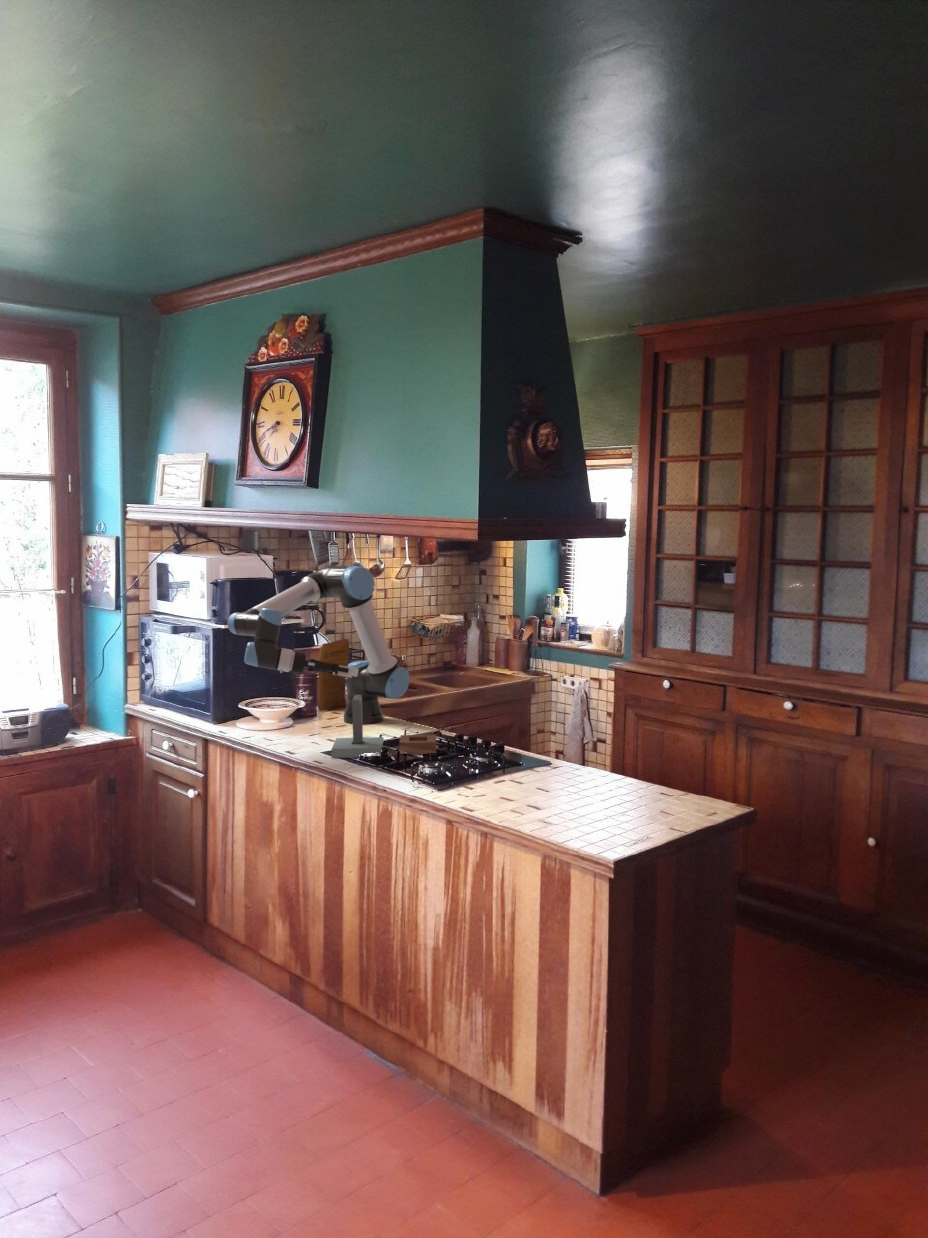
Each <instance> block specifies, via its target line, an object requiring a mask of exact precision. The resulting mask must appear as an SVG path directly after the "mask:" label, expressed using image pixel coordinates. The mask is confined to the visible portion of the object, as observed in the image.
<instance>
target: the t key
mask: <svg viewBox="0 0 928 1238" xmlns="http://www.w3.org/2000/svg"><path fill="white" fill-rule="evenodd" d="M352 713H353V724H352V738H353V744H363V738H364V733H363V732H364V728H363V725H364V724H363V721H362V695H354V697H353V699H352Z"/></svg>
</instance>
